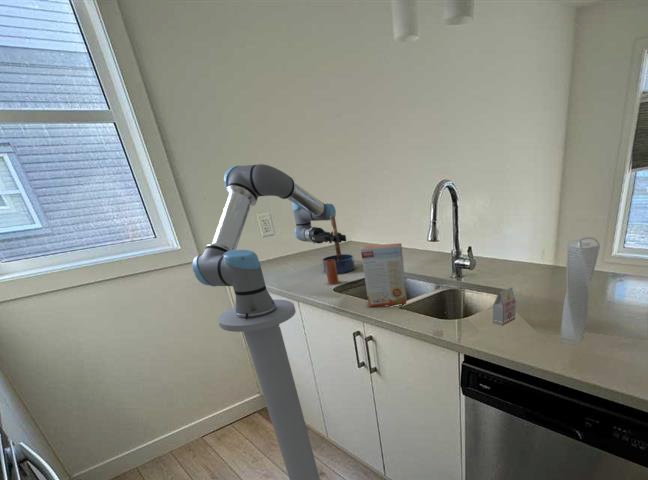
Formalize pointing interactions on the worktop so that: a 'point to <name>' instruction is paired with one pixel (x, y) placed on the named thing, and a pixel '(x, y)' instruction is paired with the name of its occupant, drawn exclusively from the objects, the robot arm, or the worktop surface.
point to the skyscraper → (578, 288)
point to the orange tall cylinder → (331, 271)
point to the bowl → (341, 263)
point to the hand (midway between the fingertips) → (342, 238)
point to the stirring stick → (335, 235)
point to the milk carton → (504, 307)
